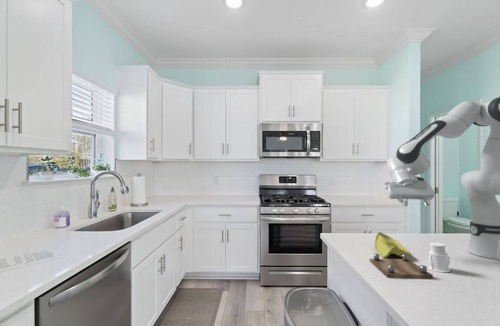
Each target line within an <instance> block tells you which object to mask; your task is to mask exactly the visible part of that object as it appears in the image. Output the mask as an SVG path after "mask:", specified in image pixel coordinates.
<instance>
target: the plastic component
mask: <svg viewBox="0 0 500 326" xmlns="http://www.w3.org/2000/svg"><path fill="white" fill-rule="evenodd" d="M374 249H375V251H376V253H377V254H379V257H381V258H382V259H387V258H388V257H389V256H390V255H391V254H394V255H396V256H398V257H400V258H402V254H407V255H408V259H410V256H411V255H412V252H410V251H409V250H408V249H407V248H406V247H405V246H403V245H402V244H401V243H399V242H398V241H397V240H396V239H394V238H393V237H391V236H389V235H387V234H385V233H383V232H380V231H378V232H377V233H376V236H375V238H374Z"/></svg>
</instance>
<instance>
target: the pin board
mask: <svg viewBox="0 0 500 326" xmlns="http://www.w3.org/2000/svg"><path fill="white" fill-rule="evenodd" d="M369 262H370V263H371V264H372V265H373V266H374V267H375V268H376V269H377V270H378V271H380V272H381V273H382V274H383V275H384V276H385V277H386V278H391V279H392V278H393V279H396V278H397V279H398V278H399V279H434V274H432V273H431V272H429V271H428V270H427V269H428V266H426V265H422V264H420V265H418V264H416V263H415V262H413V261H412V260H410V259H409V258H408V255H407V254H402V257H401V258H380V255H379V253H377V252H376V253H373V258H369Z"/></svg>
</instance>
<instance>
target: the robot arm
mask: <svg viewBox="0 0 500 326" xmlns="http://www.w3.org/2000/svg"><path fill="white" fill-rule="evenodd" d="M472 125H474V126H478V127H488V126H489V129H490V132H489V135H488V136H487V139H486V142H485V144H484V146H483V149H482V151H481V153H480V157H481V158H482V163H483V164H482V168H481V169H472V170H470V171H466V172H465V173H463V174H462V175H461V177H460V184H461V186H462V187H463V189H464V190H465V193H466V194H467V198H468V201H469V207H470V221H469V230H470V238H469V243H468V247H467V252H468V253H470V254H473V255H475V256H479V257H482V258H487V259H488V258H489V259H493V260H497V261H500V202H499V200H498V199H497V196H500V96H499V97H495V98H493V99H491V100H490V99H489V100H487V101H485V102H483V103H482V104H481V103H480V104H478V103H476V102H474V101H473V100H472V101H471V100H466V101H465V100H464V101H461V102H460V103H459V104H457V105H456V106H455V107H453V108H452V109H451V110H450V111H449V112H447V113H446V114H445V115H444V116H443V117H442V118H441V119H440V120H434V121H432V122H431V123H429V124H428V125H426V127H425V128H423V129H421V131H419V132H418V133H417V134H415V135H414V136H413V137H412V138H411V139H409V140H407V141H406V142H404V143H403V144H401V145H400V146H399V147H398V148H397V150H396V153H395V154H396V155H393V156H391V157H390V158H389V159H388V160H387V161H386V167H387V170H388V174H389V175H390V177H391V178H392V181H391V182H390V181H387V182H385V183H384V184H383V186H384V188H385V189H386V194H387V197H388V198H389V199H390V200H397V201H398V202H399V203H401V204H402V206H403V207H408V205H409V203H408V201H407V200H422V201H424V202H423V203H422V204H423V206H424V207H429V206H430V202H429V200H433V199H434V198H435V197H436V191H435V190H434V189H433V188H432V186H431V185H430V184H429V183H427V179H426V178H424V177H421V176H417V175H420V174H423V173H425V172H427V170H428V169H429V168H430V166H431V163H430V162H431V161H430V160H429V159H428V157H427V156H426V155H425V154H424V152H423V151H422V150H423V148H424V147H425V146H426V145H427V144H428V143H430V142H431V141H432V140H433V139H435V138H436V137H438V136H439V137H442V138H445V139H456V138H459V137H460V136H461V135H463V134H464V133H465V132H466V131H467V130H469V128H470V127H471V126H472Z"/></svg>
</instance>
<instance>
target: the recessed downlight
mask: <svg viewBox="0 0 500 326" xmlns="http://www.w3.org/2000/svg"><path fill="white" fill-rule="evenodd" d="M428 254H429V257H428V261H427V267H428V269H429V270H431V271H434V272H439V273H450V272H451V269H450V268H449V267H450V263H451V258H450V256H448V253H447V252H446V244H445V243H441V242H431V243H430V250H429V252H428Z"/></svg>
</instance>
